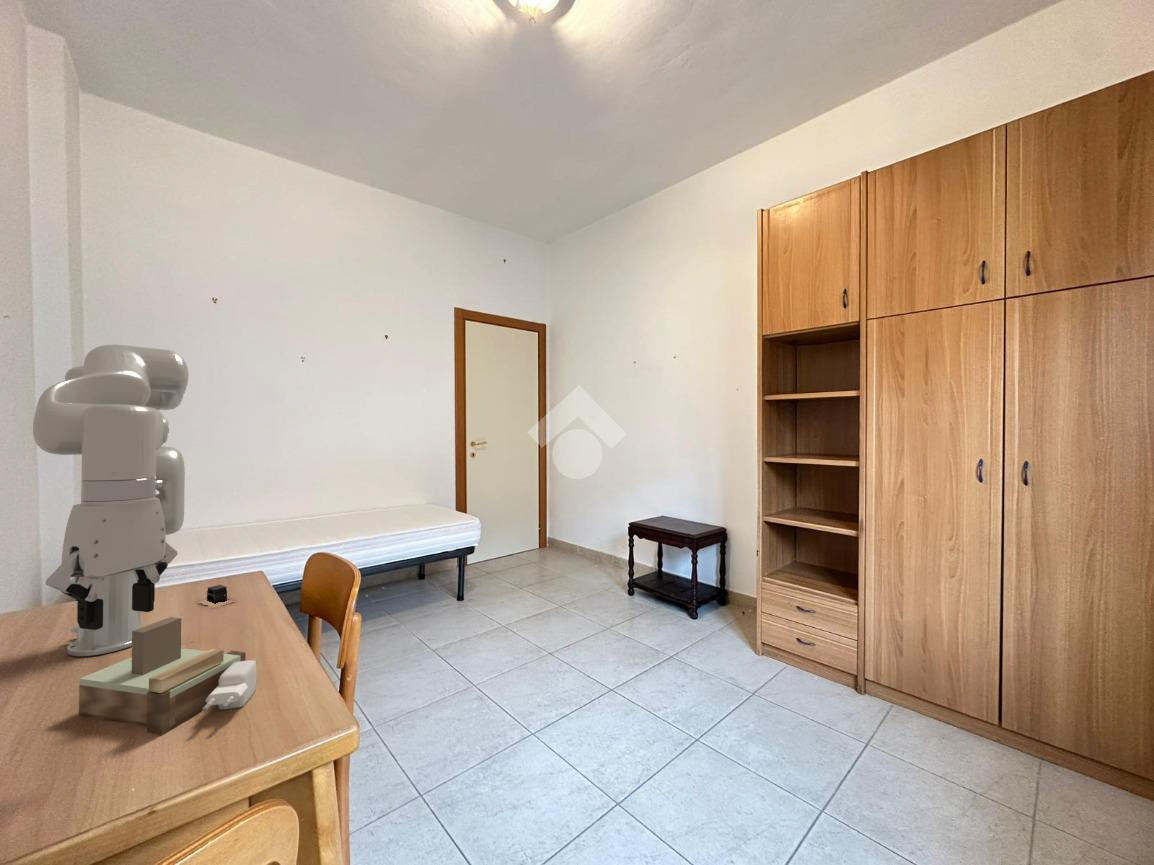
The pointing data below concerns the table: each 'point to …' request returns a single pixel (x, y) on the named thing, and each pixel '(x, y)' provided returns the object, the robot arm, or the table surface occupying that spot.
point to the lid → (153, 661)
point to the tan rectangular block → (185, 670)
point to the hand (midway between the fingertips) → (118, 617)
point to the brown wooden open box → (148, 704)
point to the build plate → (217, 594)
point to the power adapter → (234, 686)
